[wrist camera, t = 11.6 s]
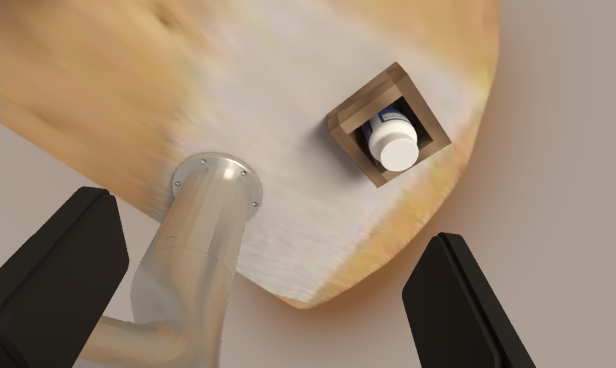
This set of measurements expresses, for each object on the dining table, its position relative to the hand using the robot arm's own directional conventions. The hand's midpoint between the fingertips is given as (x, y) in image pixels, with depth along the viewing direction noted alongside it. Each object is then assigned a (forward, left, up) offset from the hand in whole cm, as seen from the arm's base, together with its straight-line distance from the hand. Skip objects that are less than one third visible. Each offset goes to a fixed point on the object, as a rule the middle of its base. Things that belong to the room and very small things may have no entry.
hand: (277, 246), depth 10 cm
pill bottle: (+2, -14, -31) cm, 34 cm away
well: (+2, -14, -30) cm, 33 cm away
